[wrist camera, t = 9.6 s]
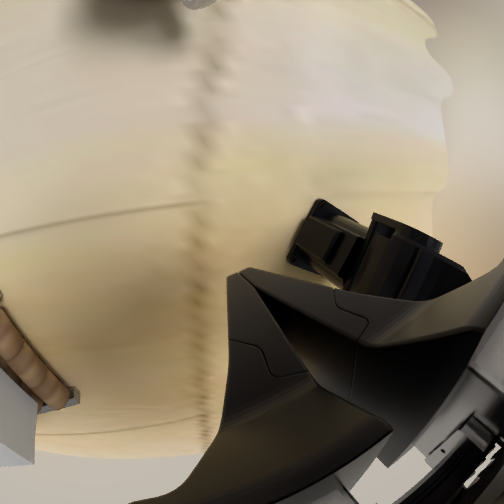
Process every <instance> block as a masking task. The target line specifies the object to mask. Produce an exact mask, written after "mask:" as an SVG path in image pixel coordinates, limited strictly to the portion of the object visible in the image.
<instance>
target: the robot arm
mask: <svg viewBox="0 0 504 504" xmlns="http://www.w3.org/2000/svg"><path fill="white" fill-rule="evenodd" d="M321 203H322V205H321V206H320V204H321ZM371 219H372V221H371V224H370V226H369V228H367V227H365V226H363V225H361V224H359V223H358V222H357V221H356V220H354V219H353V218H351V217H350V216H348V215H347V214H345V213H344V212H342V211H341V210H339V209H338V208H336V207H335V206H333V205H332V204H330V203H329V202H327V201H325V200H323V199H321V198H320V199H318V200H317V201H316V202H315V204H314V206H313V208H312V210H311V212H310V214H309V216H308V218H307V220H306V222H305V224H304V226H303V228H302V230H301V232H300V234H299V236H298V237H297V239H296V241H295V243H294V245H293V247H292V249H291V251H290V253H289V255H288V257H287V261H288V262H289V263H290V264H292V265H294V266H297V267H300V268H302V269H305V270H308V271H310V272H313V273H316V274H318V275H321V276H324V277H325V278H326V279H328V280H329V281H330V282H331V283H333V284H334V285H335V286H337V287H338V288H339V289H336V288H334V290H333V288H332V287H328V286H324V285H319V284H315V283H311V282H307V281H303V280H299V279H295V278H291V277H287V276H283V275H279V274H275V273H271V272H267V271H263V270H259V269H255V268H251V267H249V268H246V269H244V270H242V271H240V272H239V273H235V274H232V275H230V276H228V277H227V313H228V340H229V342H228V345H229V365H228V376H227V384H226V391H225V398H224V405H223V413H222V419H221V423H220V427H219V431H218V433H217V435H216V437H215V439H214V440H213V442H212V443H211V445H210V446H209V448H208V449H207V451H206V452H205V454H204V456H203V457H202V458H201V460H200V461H199V463H198V464H197V465H196V467H195V468H194V470H193V471H192V473H191V474H190V475H189V477H188V478H187V479H186V480H185V482H184V483H183V484H182V485H181V486H179V487H178V488H177V489H175V490H174V491H171V492H169V493H168V494H165V495H162V496H159V497H155V498H149V499H145V500H139V501H134V502H132V503H129V504H359V503H358V502H357V500H356V499H355V498H354V497H353V496H352V494H351V493H350V492H349V491H350V490H351V489H352V487H353V486H354V485H355V484H356V483H357V482H358V480H359V479H360V478H361V477H362V475H363V474H364V472H365V471H366V470H367V469H368V468H369V466H370V465H371V463H372V462H373V461H374V459H375V458H376V457H377V458H378V459H379V460H380V461H381V462H382V463H383V464H384V465H385V466H386V467H387V468H388V467H390V466H391V465H392V464H394V463H395V462H396V461H397V460H398V459H400V458H401V457H402V456H403V455H404V454H405V453H407V452H408V451H409V450H410V449H411V448H412V447H413V446H415V447H416V448H417V449H418V450H419V451H420V452H421V453H422V454H423V455H424V456H425V457H426V459H425V461H426V463H427V464H428V465H429V466H430V467H431V468H432V470H431V471H430V472H429V473H428V474H427V475H426V476H425V477H424V478H423V479H422V480H420V481H419V482H418V483H417V484H416V485H415V486H414V487H412V488H411V489H410V490H409V491H408V492H406V493H405V494H404V495H403V496H402V497H400V498H399V499H398V500H396V501H395V502H394V503H393V504H504V259H503V260H502V262H501V263H500V264H499V265H498V266H497V267H496V268H494V269H493V270H491V271H490V272H488V273H487V274H485V275H483V276H481V277H479V278H477V279H475V280H473V281H472V280H471V279H470V277H469V275H468V274H467V273H466V270H465V269H464V267H462V266H461V265H459V264H457V263H456V262H454V261H452V260H450V259H448V258H446V257H444V256H442V255H441V254H439V252H440V250H441V247H442V245H443V243H442V242H440V241H438V240H436V239H435V238H433V237H431V236H429V235H427V234H425V233H423V232H421V231H419V230H417V229H415V228H412V227H410V226H408V225H406V224H403V223H401V222H398V221H395V220H393V219H390V218H388V217H385V216H382V215H380V214H377V213H374V212H373V215H372V218H371ZM293 257H294V259H293V260H292V258H293ZM340 289H341V290H340ZM495 443H497V444H498V445H499V446H501V449H499V450H498V451H497V452H496V453H495V454H494V455H493V456H492V458H491V460H492V461H491V462H490V463H489V464H488V465H487V467H486V468H485V469H484V470H483V471H481V472H480V474H479V475H478V476H477V477H476V478H475V480H474V481H473V482H472V483H471V484H470V486H469V487H468V488H466V487H465V486H464V483H465V481H466V480H467V479H469V478H470V477H471V476H473V475H474V474H475V470H476V468H477V467H479V466H480V465H481V464H482V463H483V462H484V461H485V460H486V458H485V457H486V456H487V455H488V454H489V453H490V452H491V451H492V450H493V449H494V448H495Z"/></svg>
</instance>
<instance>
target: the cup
mask: <svg viewBox="0 0 504 504" xmlns="http://www.w3.org/2000/svg"><path fill="white" fill-rule="evenodd" d="M215 1H216V0H181V2H182V3H183V4H184V5H185V6H186V7H187V8H189V9H192V10H197V9H201V8H205V7H207V6H209V5H211V4H213V3H214V2H215Z"/></svg>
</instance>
